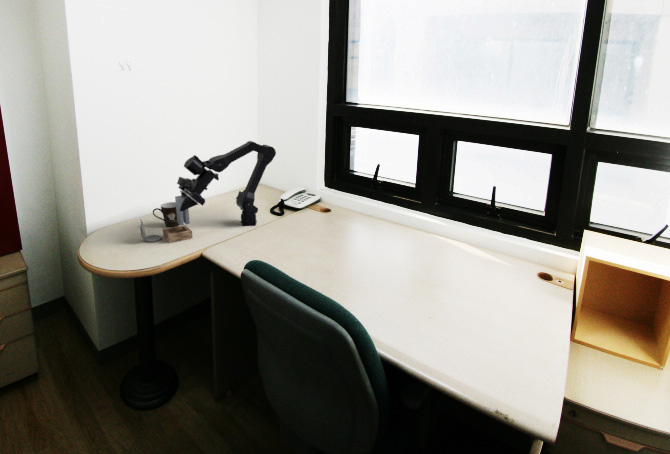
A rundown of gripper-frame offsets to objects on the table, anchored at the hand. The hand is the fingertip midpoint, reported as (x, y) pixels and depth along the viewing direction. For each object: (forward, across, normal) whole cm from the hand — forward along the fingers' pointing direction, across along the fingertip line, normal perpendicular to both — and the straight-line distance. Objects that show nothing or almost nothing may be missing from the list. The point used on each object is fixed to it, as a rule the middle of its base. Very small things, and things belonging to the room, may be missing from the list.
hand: (179, 209), depth 193 cm
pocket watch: (+18, -3, 0) cm, 18 cm away
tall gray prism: (+4, 0, +6) cm, 7 cm away
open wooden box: (+10, 0, +8) cm, 13 cm away
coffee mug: (+9, -18, +9) cm, 22 cm away
